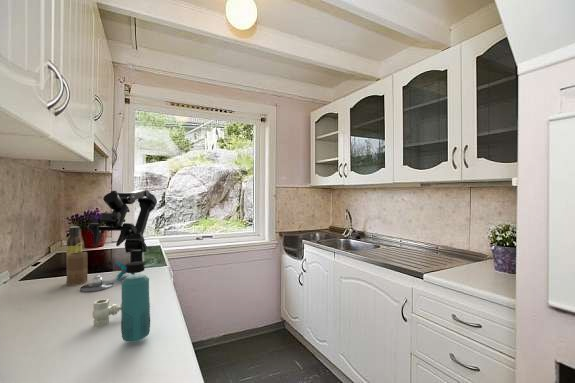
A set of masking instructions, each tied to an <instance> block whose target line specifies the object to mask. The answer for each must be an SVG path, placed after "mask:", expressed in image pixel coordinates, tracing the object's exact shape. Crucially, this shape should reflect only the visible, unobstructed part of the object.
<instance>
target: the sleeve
mask: <svg viewBox="0 0 575 383" xmlns="http://www.w3.org/2000/svg"><path fill="white" fill-rule="evenodd" d="M88 259H89V258H88V252H87V251H82V252H75V253H70V254H67V264H66V285H67V286H77V285H82V284H85V283H87V282H88V274H89V273H88V268H89V267H88V262H89V261H88Z"/></svg>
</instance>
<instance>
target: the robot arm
mask: <svg viewBox="0 0 575 383" xmlns="http://www.w3.org/2000/svg"><path fill="white" fill-rule="evenodd" d="M136 200H137V202H138V205H139V208H140V210H139V214H138V217H137V219H136V222H135V224H134V223H133V222H126V219H125V218H126V215H127V213H130V209H129V206H128V205H133V204H134V203H136ZM103 202H104V203H105V204H106V205H107V207H108V208H110V209H111V210H112V211H111V212H101V213H100V219H99V221H101V222H103V224H104V225H102V224H101V223H99V222H91V223H89V224H88V225H87V228H86V229H87V230H88V231H89V232H90V233H91V234H92V235H93V246H94V247H97V245H99V243H100V241H101V240H102V237H103V236H104V235H103V234H104V232H106V231H108V232H109V231H114V232H116V231H120V233H119V236H118V239H117V241H116V244H115V245H116V247H119V246H120V245H121V244H122V243H123V242H124V250H125V253H129V255H130V257H129V262H127V264H128V263H131V262H144V264H146V261H144V260H143V259H144V258H143V255H144V253H146V252H147V250H148V246H147V244H146V242H145V238H144V233H145V230H146V226H147V224H148V223H147V222H148V220H149V216H150V214H151V212H152V211H153V210H155V208H156V206H157V203H158V200H157V198H156V196H155V195H154V194H153V193H151V192H150V191H149V190H148V189H141V188H140V189H138V190H135V191H134V190H133V191H129V192H125V191H124V192H118V191H117V190H111V191H110V192H108V193H107V194H105V195H104V196H103Z"/></svg>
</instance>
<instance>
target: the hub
mask: <svg viewBox="0 0 575 383" xmlns="http://www.w3.org/2000/svg"><path fill="white" fill-rule="evenodd" d="M114 285H115V282H114V281H110V280H109V281H108V280H103V277H102V276H101V275H100V274H99V275H94V276H93V277H92V282H90V283H86V284H84V285H82V286H80V287H79V290H80V292H83V293H93V292H94V293H95V292H102V291H105V290H107V289H110V288H113V287H114Z"/></svg>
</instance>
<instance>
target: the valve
mask: <svg viewBox="0 0 575 383" xmlns="http://www.w3.org/2000/svg"><path fill="white" fill-rule="evenodd" d="M121 308H122V303H120V305H118V304H116V303H114V304H111V305H110V299H107V298H103V299H98V300H96V301H94V302H93V311H92V318H93V327H96V328H102V327H105V326H107V325H108V324H109V323H110V316H115V315H117V314H118V312H119V311H120V312H122V309H121ZM104 325H105V326H104Z"/></svg>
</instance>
